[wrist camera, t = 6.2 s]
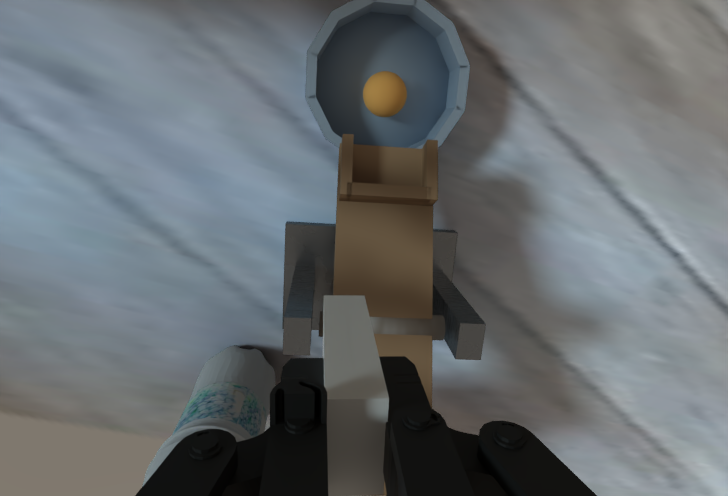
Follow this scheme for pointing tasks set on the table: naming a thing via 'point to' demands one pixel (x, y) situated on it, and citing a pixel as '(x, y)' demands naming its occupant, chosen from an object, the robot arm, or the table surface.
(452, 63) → the bowl
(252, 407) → the bottle
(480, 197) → the table surface
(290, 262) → the fulcrum
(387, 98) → the ball
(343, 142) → the lever
